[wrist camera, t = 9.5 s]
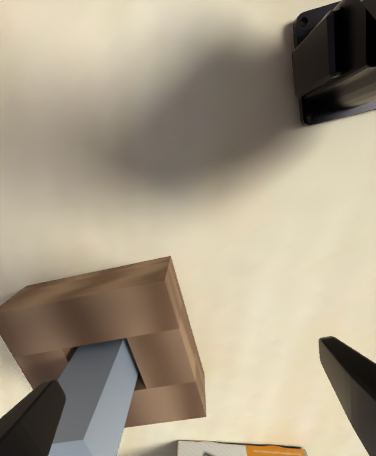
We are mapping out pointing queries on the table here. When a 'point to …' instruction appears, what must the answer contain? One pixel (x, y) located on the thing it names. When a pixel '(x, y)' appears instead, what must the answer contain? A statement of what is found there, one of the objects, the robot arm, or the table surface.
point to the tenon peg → (95, 399)
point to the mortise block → (113, 334)
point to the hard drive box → (233, 449)
